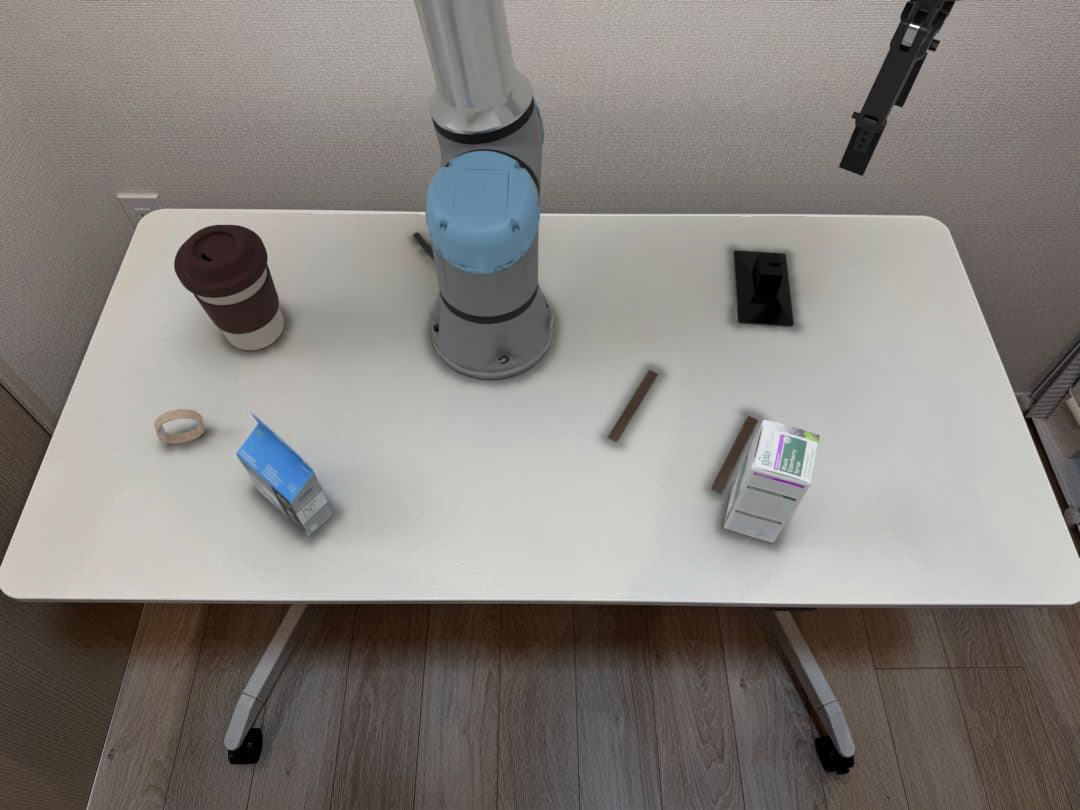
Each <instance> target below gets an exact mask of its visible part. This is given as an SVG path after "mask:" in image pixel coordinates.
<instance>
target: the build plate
mask: <svg viewBox="0 0 1080 810" xmlns="http://www.w3.org/2000/svg"><path fill="white" fill-rule="evenodd" d="M733 267H734V268H733V269H734V283H735V284H734V285H735V299H736V300H735V301H736V306H735V309H734V312H735V313H734V316H735V317H734V318H735V320H736V321H737V323H738V324H745V325H758V326H759V325H760V326H774V327H775V326H776V327H788V328H789V327H790V328H792V327H794V324H795V323H794V313H793V305H792V297H791V289H790V288H791V287H790V278H789V270H788V261H787V254H786V253H784V252H772V251H771V252H768V251H756V250H755V251H754V250H753V251H752V250H740V249H739V250H737V249H735V250H733Z"/></svg>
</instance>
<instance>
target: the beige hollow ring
mask: <svg viewBox="0 0 1080 810" xmlns="http://www.w3.org/2000/svg"><path fill="white" fill-rule="evenodd" d="M180 419H185V420H187V419H188V420H193V421H197V422H198V423H199V425H198V426H197V427H196V428H194V429H193V430H190V431H187V432H184V433H175V434H174V433H169V432H167V431H165V427H164V426H163V425H164V424H166V423H168V422H172V421H175V420H180ZM154 429H155V433H156V437H157V438H158V439H159V441H160V442H161V443H162V444H165V443H166V444H174V445H175V444H185V443H189V442H191V441H194V440H196V439H199V438H200V437H201V436H202V435H203V434H204V432H205V423H204V418H203V416H202V414H201V413H199V412H198V411H196V410H193V409H189V408H178V409H177V408H176V409H172V410H168V411H166V412H164V413H162V414H160V415H159V416H158V417H157V418H156V419H155V420H154Z"/></svg>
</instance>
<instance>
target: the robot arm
mask: <svg viewBox="0 0 1080 810" xmlns="http://www.w3.org/2000/svg"><path fill="white" fill-rule="evenodd" d="M961 1H962V0H907V1H906V3H905V5H904V7H903V9H902V11H901V13H900V18H899V23H898V25H897V28H896V30H895V31H894V34H893V36H892V38H891V39H890V42H889V49H888V51H887V54H886V56H885V58H884V60H883V62H882V64H881V67H880V68H879V70H878V72H877V75H876V77H875V80H874V82H873V84H872V86H871V87H870V90H869V92H868V94H867V97H866V99H865V101H864V103H863V106H862V107H861V109H860V112H859V111H858V112H857V111H855V110H854V111H853V112H852V115H851V119H853V120H854V125H855V126H854V129H853V131H852V133H851V136H850V138H849V141H848V143H847V146H846V147H845V148H846V149H844V150H845V151H844V152H843V156H842V158H841V161H840V163H839V165H838V168H840V169H841V170H844V171H848V172H850V173H853V174H856V175H858V176H861V177H864V174H865V173H866V171H867V168H868V166H869V164H870V162H871V159H872V157H873V155H874V153H875V151H876V148H877V147H878V144H879V142H880V140H881V137H882V136H883V133H884V131H885V129H886V126H887V124H888V120H887V119H888V118H889V116H890V114H891V111H892V109H893V108H894V106H895V107H899V108H904V105H905V104H906V101H907V99H908V98H909V95H910V93H911V90H912V88H913V86H914V84H915V82H916V79H917V78H918V76H919V73H920V71H921V69H922V67H923V65H924V62H925V60H926V58H927V56H928V55H929V52H933V53H936V51H937V49H938V47H939V45H940V43H941V40H939V39H936V38H935V37H936V36H937V34H939V33H940V31H941V30H942V28H943V26H944V24H945V22H946V20H947V18H948V17H949V16H950V14H951V12H952V10H953V8H954V6H955V4H956V2H961ZM413 2H414V6H415V10H416V13H417V17H418V20H419V25H420V28H421V32H422V36H423V40H424V43H425V47H426V50H427V54H428V58H429V62H430V65H431V69H432V72H433V77H434V80H435V85H436V87H435V88H434V90H433V91H432V93H431V95H430V97H429V101H428V110H429V114H430V117H431V121H432V124H433V127H434V128H433V129H434V130H435V135H436V137H437V141H438V145H439V150H440V151H439V152H440V160H441V161H440V168H439V169H438V171H436V172H435V174H434V176H433V178H432V179H431V181H430V183H429V186H428V189H427V192H426V200H425V202H426V204H425V224H426V227H427V234H428V236H429V239H430V243H431V246H430V244H429V243H428V242H427V241H426V239H424V238H423V236H422V235H421V234H420V232H419V231H416V232H414V233H413V238H414V239H415V240H416V242H417V243H418V244H419V245H420V247H421V248H422V249H423V250H424V251H425V253H426V254H427V255H428V256H429V257H430V258H431V260H433V262H434V267H435V273H436V279H437V285H438V290H439V291H438V293H437V297H436V300H435V303H434V306H433V310H432V313H431V317H430V333H431V338H432V343H433V346H434V348H435V350H436V352H437V354H438V356H439V357H440V359H441V360H443V362H444V363H445V364H447V366H448V367H450V368H451V369H452V370H455V371H456V372H458V373H460V374H462V375H465V376H468V377H471V378H475V379H481V380H501V379H505V378H509V377H513V376H517V375H519V374H522V373H524V372H525V371H527V370H529V369H530V368H532V367H533V366H534V365H536V364H537V363H538V362H539V361H540V360H541V359H542V358H543V357H544V355H545V354H546V352H547V351H548V350H549V349H548V348H549V347H550V345H551V342H552V337H553V328H554V327H553V326H554V324H553V322H554V316H555V312H553V313H552V310H551V307H550V304H549V302H548V300H547V298H546V297H545V295H544V293H543V292H542V290H541V287H540V285H539V234H540V233H539V231H540V228H539V227H540V223H541V222H540V220H541V203H540V201H541V184H542V183H541V181H542V160H543V159H542V158H543V144H544V143H545V141H544V140H545V127H544V121H543V116H542V113H541V110H540V106H539V104H538V102H537V100H536V98H535V96H534V92H533V90H534V89H533V87H532V83H531V81H530V80H529V78H528V76H527V75H525V74H524V73H523V72H522V71H521V70H518V69H517V68H516V66H515V62H514V61H515V60H514V55H513V51H512V50H513V49H512V43H511V38H510V32H509V27H508V26H509V25H508V20H507V15H506V14H507V13H506V8H505V2H504V0H413ZM927 51H929V52H927Z"/></svg>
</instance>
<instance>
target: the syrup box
mask: <svg viewBox="0 0 1080 810" xmlns="http://www.w3.org/2000/svg"><path fill="white" fill-rule="evenodd" d="M820 438H821V435H820V434H818V433H815V432H813V431H808V430H804V429H802V428H799V427H796V426H792V425H788V424H785V423H780V422H776V421H772V420H767V419H763V420H762V421H761V424H760V426H759V428H758V429H757V432H756V433H755V436H754V438H753V440H752V443H751V445H750V447H749V449H748V451H747V454H746V456H745V458H744V461H743V462H742V465H741V467H740V469H739V471H738V473H737V476H736V478H735V480H734V482H733V484H732V486H731V487H732V488H731V491H730V496H729V500H728V505H727V510H726V513H725V519H724V521H723V526H722V527H723V529H726V530H728V531H732V532H734V533H737V534H741V535H745V536H747V537H751V538H753V539H757V540H761V541H764V542H768V543H771V544H773V543H775V542H776V540H777V538H778V537H779V536H780V534H781V533H782V531H783V529H784V528H785V526H786V525H787V524H788V522H789V520H790V519H791V517H792V515H793V514H794V512H795V511H796V510H797V507H798V506H799V504H800V503H801V502H802V500H803V498H804V496H805V495H806V494H807V492H808V490H809V489H810V487H811V486H812V482H813V477H814V470H815V465H816V461H817V460H816V459H817V454H818V448H819V442H820Z"/></svg>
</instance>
